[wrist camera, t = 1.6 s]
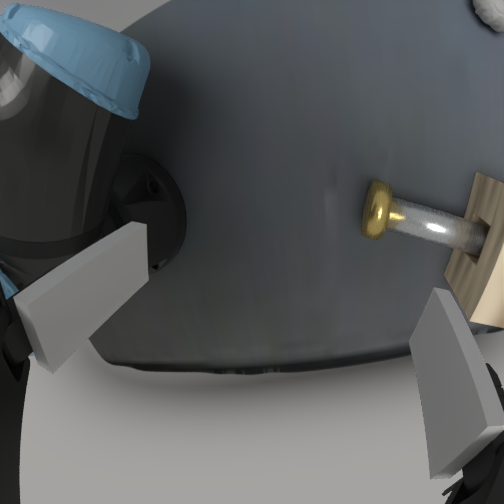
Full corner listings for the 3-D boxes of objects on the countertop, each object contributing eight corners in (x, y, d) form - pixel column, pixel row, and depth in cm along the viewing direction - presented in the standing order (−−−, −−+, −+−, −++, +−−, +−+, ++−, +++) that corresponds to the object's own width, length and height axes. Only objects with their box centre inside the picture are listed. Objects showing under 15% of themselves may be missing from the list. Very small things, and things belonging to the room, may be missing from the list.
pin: (359, 225, 28) (363, 244, 24) (370, 176, 26) (378, 186, 22) (473, 256, 26) (491, 277, 22) (487, 212, 24) (509, 228, 19)
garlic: (461, -17, 15) (477, -34, 11) (500, -2, 14) (520, -15, 10) (469, 27, 18) (489, 14, 13) (509, 42, 17) (532, 33, 12)
